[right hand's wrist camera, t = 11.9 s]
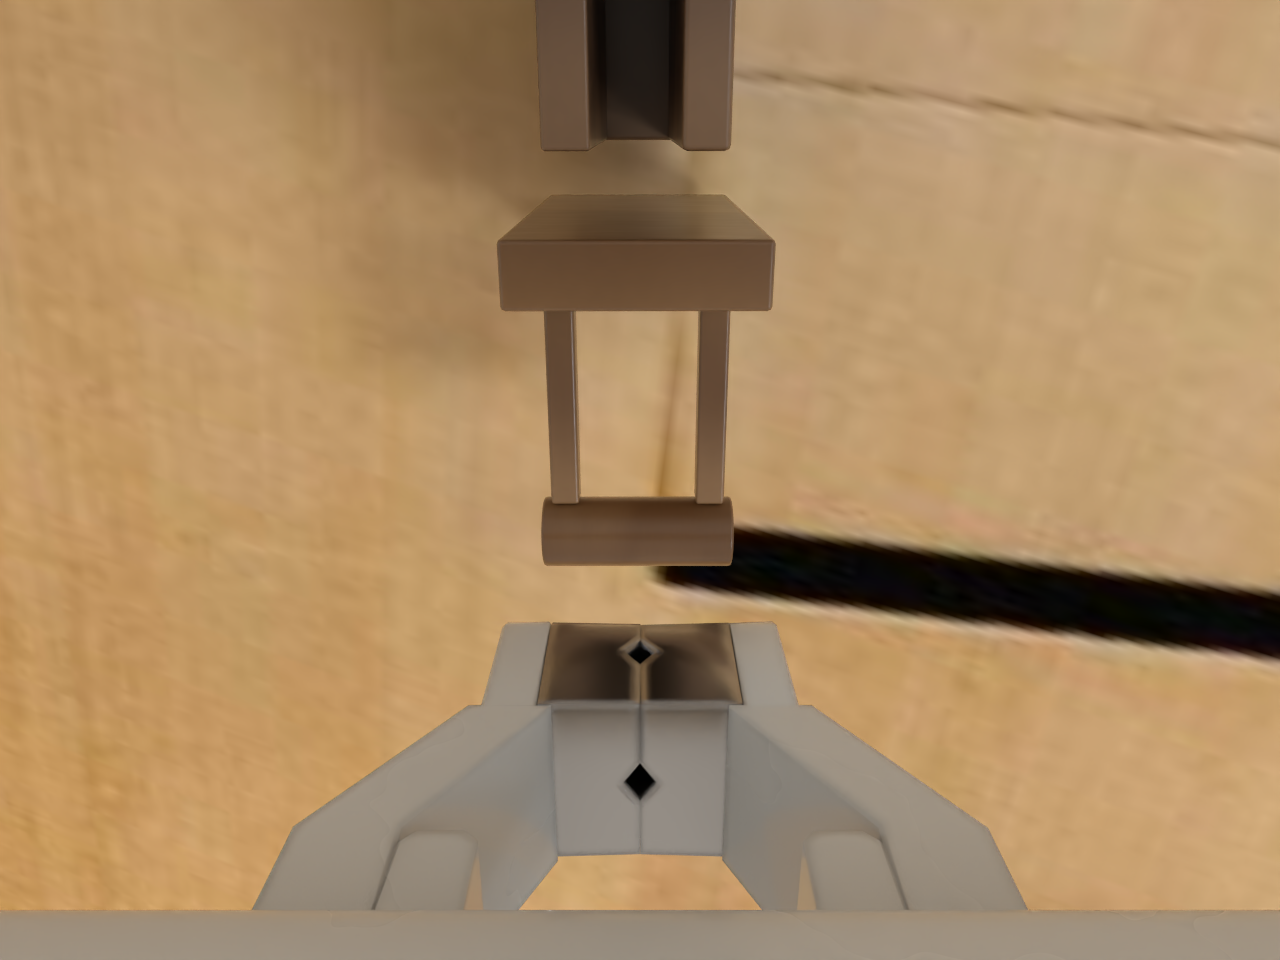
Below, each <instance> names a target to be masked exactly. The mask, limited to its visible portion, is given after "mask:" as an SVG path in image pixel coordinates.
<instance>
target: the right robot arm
mask: <svg viewBox="0 0 1280 960" xmlns="http://www.w3.org/2000/svg"><path fill="white" fill-rule="evenodd" d="M621 854H656V855H693V856H723V857H722V860H723V861H724V863H725V864H726V865H727V866H728V868H729V869H730V870H731V871H732V873H733V874H734V875H735V877H736V878H737V879H738V880H739V882H740V883H741V884H742V885H743V887H744V888H745V889H746V890H747V892H748V893H749V894H750V895H751V897H752V898H753V899H754V900H755V902H756V903H757V904H758V905H759V907H760V908H761V909H762V910H519V909H520V907H521V906H522V905H523V904H524V902H525V901H526V900H527V899H528V897H529V896H530V895H531V894H532V892H533V891H534V890H535V889H536V887H537V886H538V885H539V884H540V882H541V881H542V880H543V879H544V877H545V876H546V875H547V874H548V872H549V871H550V870H551V869H552V867H553V866H554V865H555V864H556V862H557V861H558V856H586V855H621ZM0 960H1280V910H1028V909H1027V907H1026V905H1025V903H1024V901H1023V899H1022V896H1021V894H1020V892H1019V890H1018V888H1017V886H1016V884H1015V882H1014V880H1013V878H1012V876H1011V874H1010V872H1009V870H1008V868H1007V866H1006V864H1005V862H1004V860H1003V858H1002V856H1001V854H1000V852H999V850H998V848H997V846H996V843H995V841H994V839H993V837H992V835H991V833H990V831H989V829H988V828H987V827H986V826H984V825H983V824H981V823H980V822H979V821H977V820H976V819H974V818H973V817H971V816H970V815H969V814H967V813H966V812H964V811H963V810H961V809H960V808H958V807H957V806H956V805H954V804H953V803H951V802H950V801H948V800H947V799H946V798H944V797H943V796H941V795H940V794H938V793H937V792H935V791H934V790H933V789H931V788H930V787H928V786H927V785H925V784H924V783H923V782H921V781H920V780H918V779H917V778H915V777H914V776H912V775H911V774H910V773H908V772H907V771H905V770H904V769H902V768H901V767H900V766H898V765H897V764H895V763H894V762H892V761H891V760H889V759H888V758H887V757H885V756H884V755H882V754H881V753H879V752H878V751H876V750H875V749H874V748H872V747H871V746H869V745H868V744H866V743H865V742H864V741H862V740H861V739H859V738H858V737H856V736H855V735H853V734H852V733H851V732H849V731H848V730H846V729H845V728H843V727H842V726H841V725H839V724H838V723H836V722H835V721H833V720H832V719H830V718H829V717H828V716H826V715H825V714H823V713H822V712H820V711H819V710H818V709H816V708H815V707H813V706H812V705H798V701H797V697H796V694H795V690H794V687H793V683H792V679H791V676H790V672H789V669H788V665H787V661H786V658H785V654H784V651H783V647H782V643H781V640H780V636H779V633H778V629H777V625H776V624H774V623H773V622H748V623H704V624H662V625H640V624H600V623H552V625H551V624H550V622H513V623H507V624H506V625H505V626H504V627H503V628H502V632H501V635H500V639H499V643H498V646H497V650H496V654H495V657H494V661H493V664H492V668H491V672H490V675H489V679H488V683H487V686H486V690H485V694H484V697H483V701H482V705H468V706H467V707H465V708H464V709H463V710H461V711H460V712H458V713H457V714H455V715H454V716H452V717H451V718H450V719H448V720H447V721H445V722H444V723H442V724H441V725H439V726H438V727H437V728H435V729H434V730H432V731H431V732H429V733H428V734H426V735H425V736H424V737H422V738H421V739H419V740H418V741H416V742H415V743H413V744H412V745H411V746H409V747H408V748H406V749H405V750H403V751H402V752H400V753H399V754H397V755H396V756H395V757H393V758H392V759H390V760H389V761H387V762H386V763H384V764H383V765H382V766H380V767H379V768H377V769H376V770H374V771H373V772H371V773H370V774H369V775H367V776H366V777H364V778H363V779H361V780H360V781H358V782H357V783H356V784H354V785H353V786H351V787H350V788H348V789H347V790H345V791H344V792H343V793H341V794H340V795H338V796H337V797H335V798H334V799H332V800H331V801H330V802H328V803H327V804H325V805H324V806H322V807H321V808H319V809H318V810H317V811H315V812H314V813H312V814H311V815H309V816H308V817H306V818H305V819H304V820H302V821H301V822H299V823H298V824H296V825H295V826H293V828H292V830H291V832H290V834H289V836H288V838H287V840H286V842H285V844H284V846H283V848H282V850H281V852H280V854H279V856H278V858H277V860H276V862H275V864H274V866H273V868H272V870H271V873H270V875H269V877H268V879H267V881H266V883H265V885H264V887H263V889H262V891H261V893H260V895H259V897H258V899H257V901H256V903H255V905H254V907H253V909H252V910H0Z"/></svg>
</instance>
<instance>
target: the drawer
mask: <svg viewBox="0 0 1280 960" xmlns="http://www.w3.org/2000/svg"><path fill="white" fill-rule="evenodd" d="M735 6H736V0H535V7H536V32H537V58H538V83H539V108H540V134H541V148H542V150H543V151H588V150H590V149H591V148H593V147H595V146H596V145H598V144H600V143H601V142H603V141H605V140H672V141H673V142H675V143H676V144H677V145H679V146H680V147H681V148H683V149H685V150H687V151H725V150H728V149H729V148H730V145H731V125H732V95H733V66H734V36H735ZM775 246H776V244H775V241H774V240H773V239H772V238H771V237H770V236H769V235H768V234H767V233H766V232H764V231H763V230H762V229H761V228H760V227H759V226H758V225H757V224H756V223H755V222H754V221H753V220H751V219H750V218H749V217H748V216H747V215H746V214H745V213H744V212H743V211H742V210H741V209H739V208H738V207H737V206H736V205H735V204H734V203H733V202H732V201H731V200H730V199H729V198H727V197H726V196H725V195H552V196H550V197H549V198H548V199H546V200H545V201H544V202H543V203H542V204H541V205H539V206H538V207H537V208H536V209H535V210H534V211H532V212H531V213H530V214H529V215H528V216H527V217H525V218H524V219H523V220H522V221H521V222H520V223H518V224H517V225H516V226H515V227H514V228H513V229H511V230H510V231H509V232H508V233H507V234H506V235H504V236H503V237H502V238H501V239H500V240H499V241H498V243H497V255H498V272H499V289H500V306H501V309H502V310H504V311H544V326H545V350H546V375H547V399H548V424H549V448H550V473H551V497H546V498H545V500H544V503H543V510H542V528H541V538H542V555H543V561H544V564H545V565H547V566H728V565H730V564H731V562H732V557H733V543H734V523H733V508H732V502H731V499H730V497H724V473H725V445H726V417H727V389H728V361H729V333H730V311H768V310H771V308H772V303H773V284H774V265H775ZM576 311H699V312H698V357H697V401H696V445H695V489H694V493H695V497H580V494H581V482H580V446H579V410H578V374H577V338H576Z"/></svg>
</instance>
